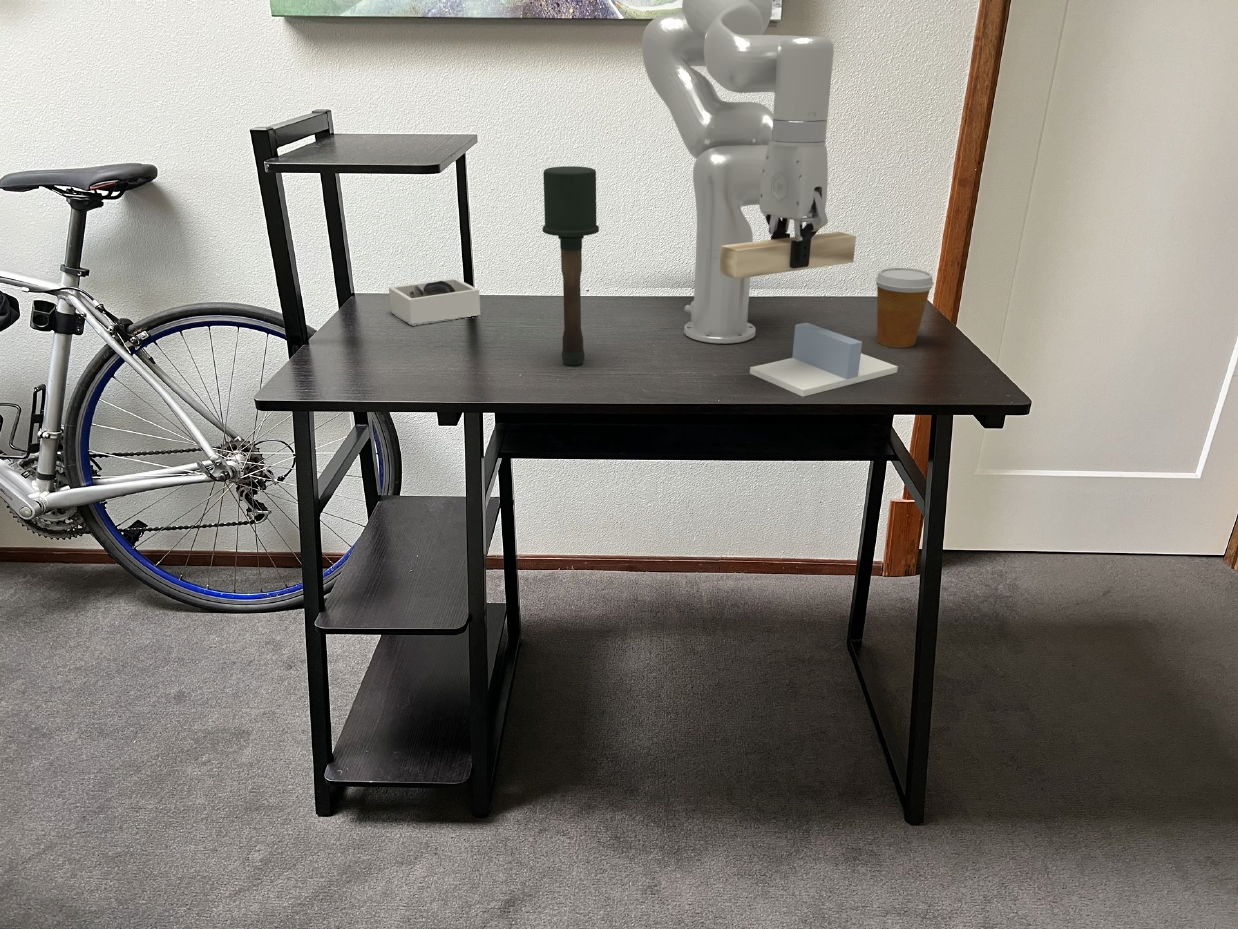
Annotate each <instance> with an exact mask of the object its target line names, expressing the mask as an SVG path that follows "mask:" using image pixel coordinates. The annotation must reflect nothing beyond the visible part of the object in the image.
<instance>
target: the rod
mask: <svg viewBox="0 0 1238 929" xmlns="http://www.w3.org/2000/svg"><path fill="white" fill-rule="evenodd" d="M856 239H857V236H856V235H854V234H849V233H845V232H842V231H841V232H840V231H833V232H832V231H830V232H825V233H824V232H823V233H816V234H815V237H814V239H813V240H811V247H810V258H809V265H808V266H807V267H802V268H795V269H793V268H790V255H791V242H792V240H795V236H790V238H782V239H773V240H771V239H766V240H757V241H753V242H748V243H740V244H731V245H723V246H721V255H720V274H722V275H725V276H728V277H731V278H734V279H740V278H747V277H750V278H753V277H754V278H755V277H760V276H761V277H762V276H766V275H767V276H768V275H775V274H781V273H788V272H796V271H802V270H803V271H804V270H811V269H817V268H824V267H830V266H837V265H838V266H839V265H844V264H846V265H847V264H852V263H854V262H855V261H854V259H855V250H856V249H855V248H856V241H857V240H856Z"/></svg>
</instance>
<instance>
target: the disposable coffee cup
mask: <svg viewBox="0 0 1238 929" xmlns="http://www.w3.org/2000/svg"><path fill="white" fill-rule="evenodd" d="M874 281H875V283H876V286H877V287H876V288H877V290H876V293H877V294H876V297H877V298H876V299H877V301H876V302H877V303H876V307H877V309H876V311H877V314H876V318H877V319H876V321H877V322H876V327H877V328H876V329H877V334H876V335H877V339H876V342H878V344H880V345H881V346H886V347H890V348H902V349H903V348H910V347H913V346H915V344H916V340H917V337H918V333H919V329H920V326H921V324H922V319H923V316H924V312H925V308H926V305H927V302H928V299H929V295H930V290H932V288H933V286H934V284H935V282H934V281H933V275H932V273H930V272H929V271H926V270H922V269H917V268H910V267H888V268H887V267H886V268H883V269H880V270H879V271H878V274H877V276H875V279H874Z"/></svg>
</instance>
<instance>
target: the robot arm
mask: <svg viewBox="0 0 1238 929" xmlns="http://www.w3.org/2000/svg"><path fill="white" fill-rule="evenodd" d="M681 4H682V5H681V10H682V12H677V13H669V14H668V13H666V14H662V15H659V16H658V17H655V18H653V19H652V20H650V22H649V23H647V25H646V27H645V28H644V31H643V34H642V38H641V39H642V41H641V48H642V49H641V50H642V52H641V53H642V58H643V63H644V70H645V72H646V74H647V77H648V79H649V81H650V83H651V85H652V87H653V89H654V90H655V92H656V93H657V95H658V96H659V97H660V99H661V100H662V101H663V103H664V104H665V105H666V107H667V108H668V110H669V113H670V114H671V116H672V120H673V121H674V123H675V126H676V128H677V130H678V133H679V135H680V137H681V139H682V141H683V144H684V145H685V147H686V150H687V151H688V153H689V154H690V155H691V156H692V157H693V158H694V159H696V160H695V162H694V165H693V171H692V179H693V181H692V182H693V191H694V195H695V206H696V207H695V208H696V237H695V238H696V239H695V240H696V242H695V245H696V246H695V265H694V267H695V268H694V270H695V272H694V288H693V289H694V293H693V294H694V295H693V300H692V301H691V302H690V304H687V305H685V306H684V312H686V313H688V314H690V321H688V322H687V323H686V324H685V325H684V326H683V327H684V329H683V333H684V334H685V336H687V337H688V338H690V339H692V340H695V341H698V342H704V343H709V344H735V343H736V344H737V343H742V342H747V341H749V340H752V339H753V338H755V336H756V327H755V326H754V325H753V324H752V323H750V322H748V318H749V317H748V316H749V301H750V300H749V299H750V289H751V288H750V285H751V277H747V278H740V279H734V278H731V277H728V276H725V275H722V274H720V255H721V246H723V245H731V244H740V243H748V242H754V241H753V238H754V236H753V235H754V234H753V230H752V227H751V224H750V223H749V221H748V219H747V217H745V215H744V213H743V211H742V207H748V206H755V205H757V206H758V205H759V206H758V207H759V211H760V212H761V213H762V215H763V217H764V218H765V220H766V223H767V225H768V233H769V234H770V240H773V239H782V238H790V237H791V233H787V232H788V231H789V226H790V221H791V220H792V221H793V224H794V227H793V228H794V231H793V232H794V237H795V240H792V242H791V255H790V268H793V269H795V268H802V267H807V266H808V265H809V258H810V247H811V240H813V239H814V237H815V234H818V232H819V231H820V230H821V229H822V228H823V227H825V226H827V224H828V222H829V218H828V216H827V213H826V206H827V199H828V179H829V177H828V176H829V174H828V173H829V167H828V166H829V165H828V164H829V162H828V148H827V145H826V141H827V130H828V120H829V119H828V118H829V108H830V107H829V106H830V99H831V98H830V96H831V86H832V85H831V84H832V74H833V73H832V72H833V62H834V52H835V51H834V48H835V47H834V44H833V42H832V40H831V39H830V38H828V37H826V36H825V37H824V36H812V35H811V36H806V35H805V36H802V35H801V36H800V35H778V34H764V33H765V32H766V30H767V28H768V26H769V25H770V21H771V18H772V12H773V0H682V2H681ZM693 67H706V71H707V73H708V74H709V75H710V77H711V78H712V79H713V80H714V81H715V82H716V83H717V84H718V85H720V87H722V88H724V90H727V91H729V92H733V93H738V94H751V93H753V94H754V93H774V99H773V112H772V110H770V109H769V108H768V107H767V106H766V105H764V104H762V103H760V102H756V101H754V102H753V101H725V100H723V99H721V98H720V96H719V95H718V94H717V91H716V89H715V87H714V85H713V84H712V82H711V81H710V80H709V79H708V78H707V77H706V76H705V75H703V74H702V73H701V72H699V71H698V70H696V69H695V68H693ZM803 223H805V225H804V227H803Z"/></svg>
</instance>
